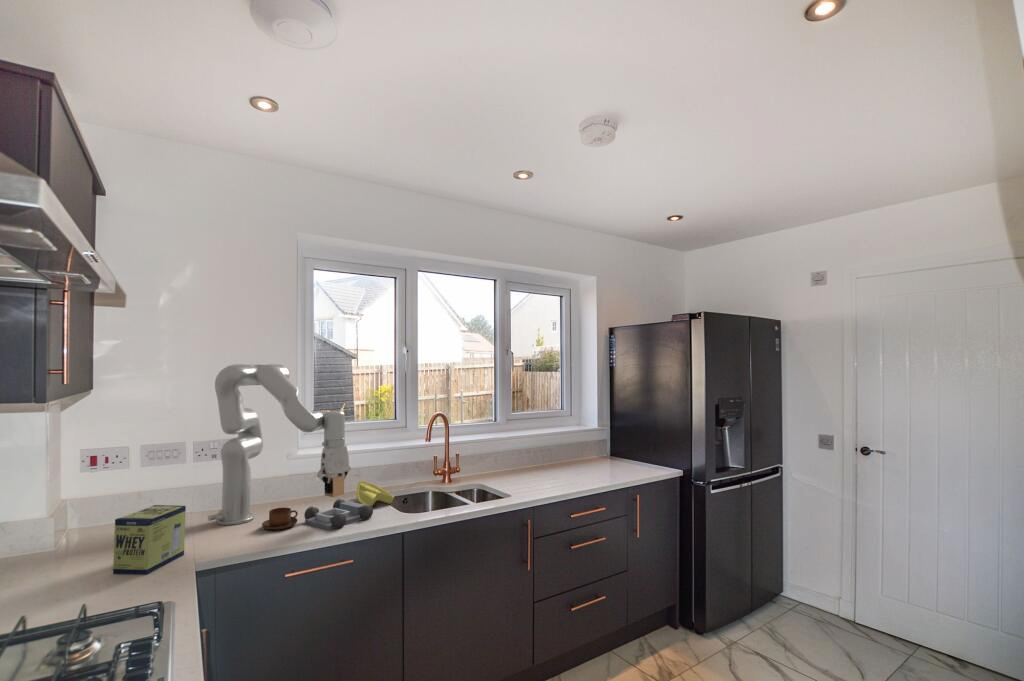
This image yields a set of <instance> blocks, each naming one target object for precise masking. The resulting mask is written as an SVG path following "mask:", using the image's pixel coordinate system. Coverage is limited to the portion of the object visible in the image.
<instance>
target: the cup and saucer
mask: <svg viewBox="0 0 1024 681" xmlns="http://www.w3.org/2000/svg"><path fill="white" fill-rule="evenodd" d="M268 512H269V514H268V519H266V520H264V521H263V522H262V523H261V526H262V528H264V529H266V530H270V531H276V530H277V531H279V530H284V529H288V528H291V527H293V526H295V525H296V524H297V523H298V519H297V516H298V515H299V514H298V511H297V510H293V509H291V508H290V507H277V508H273V509H270V510H269V511H268ZM292 513H295V515H294V516H292Z"/></svg>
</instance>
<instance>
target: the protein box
mask: <svg viewBox="0 0 1024 681" xmlns="http://www.w3.org/2000/svg"><path fill="white" fill-rule="evenodd" d="M186 507H187V506H186V505H169V504H168V505H167V504H165V505H164V504H163V505H161V504H154V505H152V506H149V507H145V508H143V509H140V510H137V511H134V512H133V513H129V514H128V515H127V514H126V515H123V516H122V517H117V518H116V519H114V539H113V540H114V543H113V565H112V566H113V567H112V568H113V569H112V574H113V575H116V574H117V575H145V576H147V575H149V574H151V573H152V572H154V571H157V570H158V569H160V568H162V567H164V566H165V565H168V564H170V563H172V562H174V561H176V560H177V559H179V558H181V557H183V556H185V540H186V539H185V536H186V535H185V533H186V509H187V508H186Z"/></svg>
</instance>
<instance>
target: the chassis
mask: <svg viewBox="0 0 1024 681" xmlns="http://www.w3.org/2000/svg"><path fill="white" fill-rule="evenodd" d="M373 514H374V508H373V505H372V506H370V505H364V504H361V503H360V502H354V501H351V500H350V501H349V500H344V499H341V498H337V499H336V500H334V502H333V505H332V508H330V509H326V510H324V511H320V509H319V508H318V507H316V506H309V507H307V508H306V509H305V511H304V515H303V516H304V524H306V525H308V526H313V527H316V528H320V529H323V530H327V531H331V530H334V529H342V528H343V527H344V526H347V525H349V524H352V523H355V522H359V521H361V520H369V519H371V518H372V516H373Z"/></svg>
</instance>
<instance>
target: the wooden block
mask: <svg viewBox="0 0 1024 681" xmlns="http://www.w3.org/2000/svg"><path fill="white" fill-rule="evenodd" d="M327 478H328V477H327ZM330 483H331V494H328V493H325V492H324V496H325V497H331V498H335V497H336V498H337V497H340V496H342V495H345V479H344V476H342V475H338V474H335V475H332V476H331V481H330Z"/></svg>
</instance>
